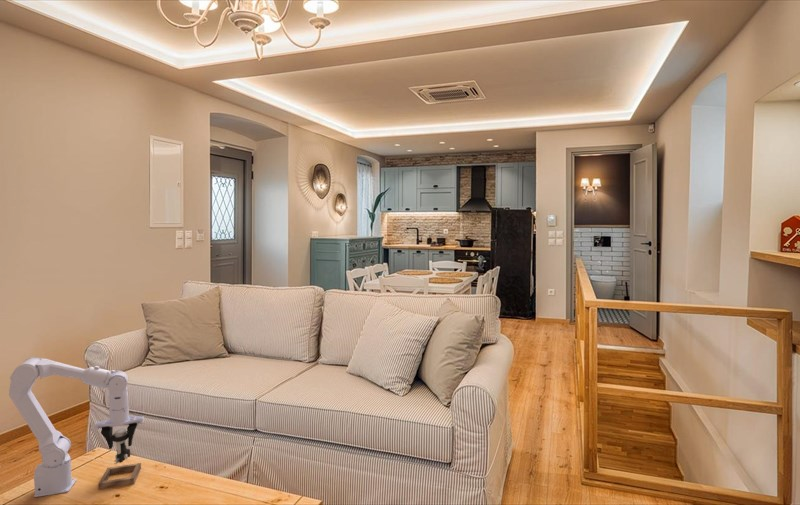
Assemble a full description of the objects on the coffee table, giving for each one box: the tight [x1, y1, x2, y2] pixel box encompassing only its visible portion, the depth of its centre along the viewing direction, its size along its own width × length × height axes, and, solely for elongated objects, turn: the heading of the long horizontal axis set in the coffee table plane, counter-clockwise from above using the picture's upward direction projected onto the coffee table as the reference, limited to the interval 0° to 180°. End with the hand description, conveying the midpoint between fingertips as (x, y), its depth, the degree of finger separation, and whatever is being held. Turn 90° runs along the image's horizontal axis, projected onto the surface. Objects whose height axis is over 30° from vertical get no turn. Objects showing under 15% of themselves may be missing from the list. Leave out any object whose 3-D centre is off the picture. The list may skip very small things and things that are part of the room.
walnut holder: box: [97, 462, 142, 491], centre depth 161 cm, size 10×11×2 cm
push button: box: [112, 428, 131, 465], centre depth 162 cm, size 7×5×10 cm
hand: (120, 446), depth 162 cm, fingers closed on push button, 5 cm apart
